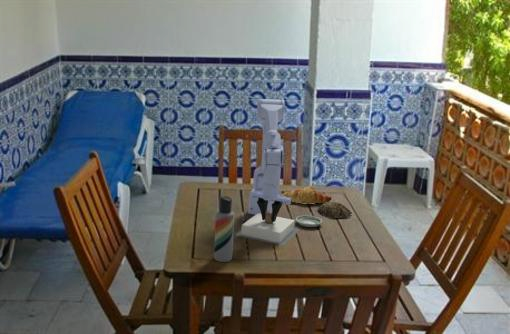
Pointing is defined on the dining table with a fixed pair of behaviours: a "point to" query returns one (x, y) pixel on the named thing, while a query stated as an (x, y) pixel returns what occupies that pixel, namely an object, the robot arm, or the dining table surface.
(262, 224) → the cover
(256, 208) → the robot arm
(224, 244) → the lotion bottle
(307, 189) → the croissant
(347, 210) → the bread roll
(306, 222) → the saucer
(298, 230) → the mat
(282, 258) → the dining table surface
